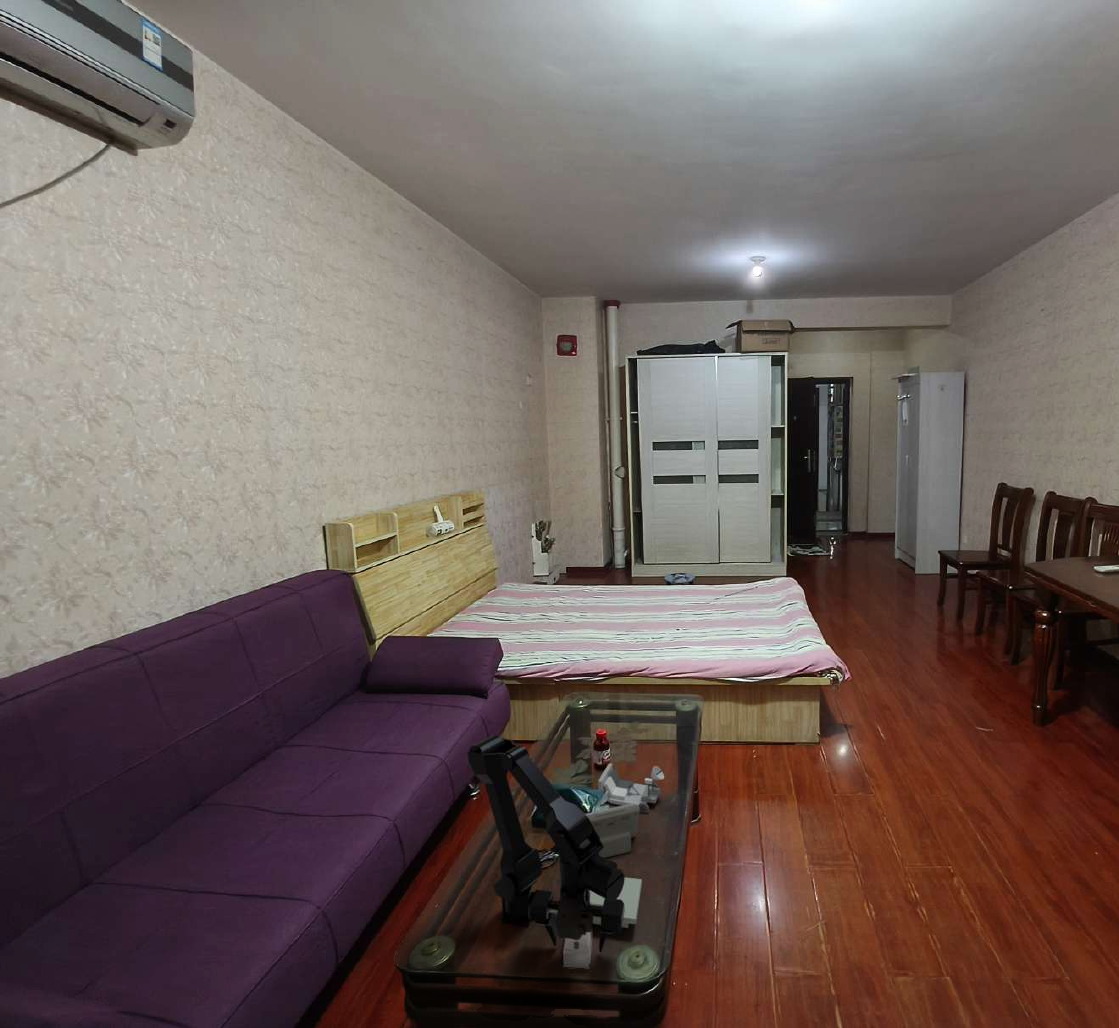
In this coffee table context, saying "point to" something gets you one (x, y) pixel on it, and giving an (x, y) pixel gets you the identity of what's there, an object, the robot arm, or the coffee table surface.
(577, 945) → the block
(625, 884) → the stand
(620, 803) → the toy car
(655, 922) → the coffee table surface
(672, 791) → the coffee table surface
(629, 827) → the digital clock
